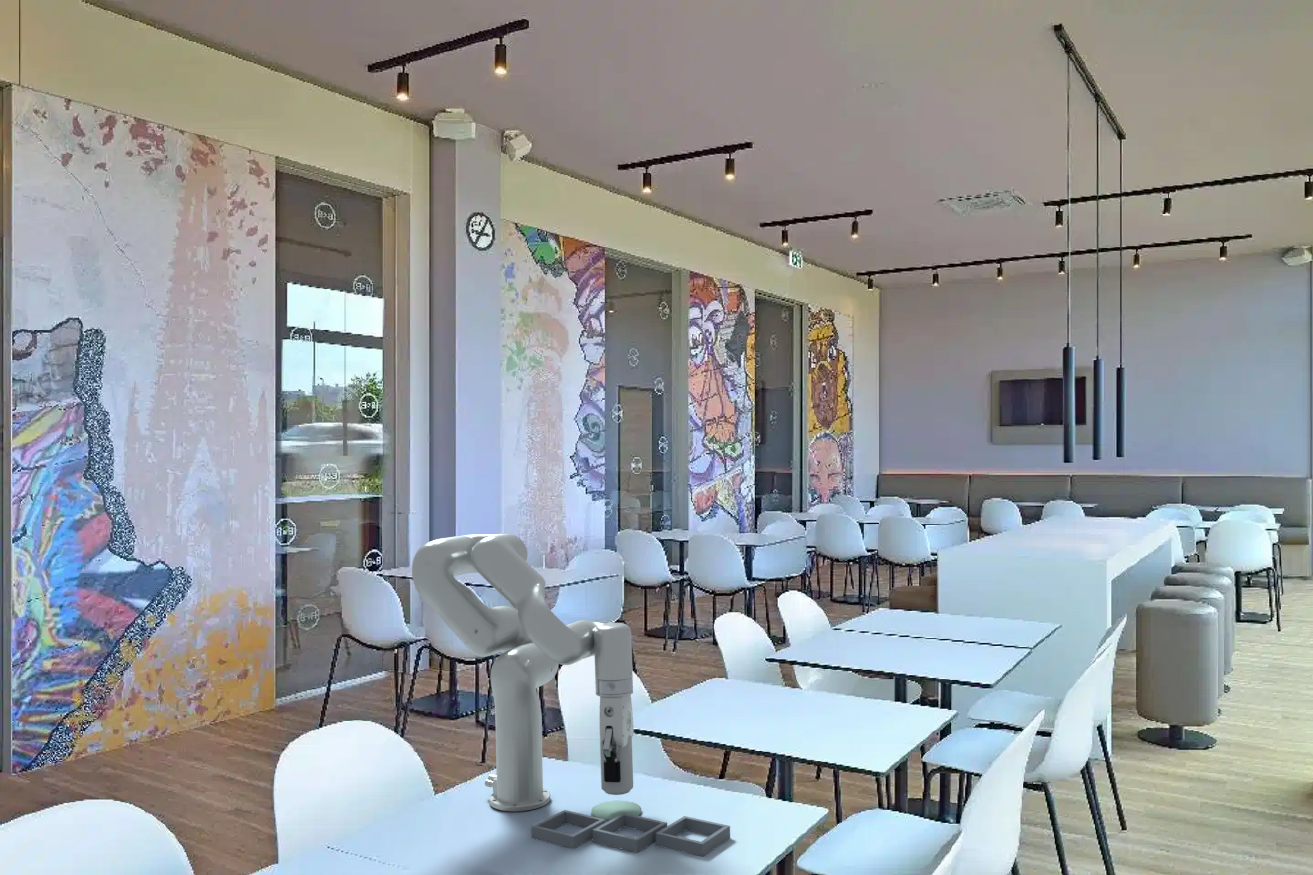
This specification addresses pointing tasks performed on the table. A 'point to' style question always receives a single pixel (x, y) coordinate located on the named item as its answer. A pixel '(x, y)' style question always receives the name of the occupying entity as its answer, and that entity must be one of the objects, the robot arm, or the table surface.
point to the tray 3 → (672, 841)
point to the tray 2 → (608, 837)
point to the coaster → (615, 809)
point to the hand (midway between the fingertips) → (616, 775)
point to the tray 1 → (547, 834)
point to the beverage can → (625, 770)
